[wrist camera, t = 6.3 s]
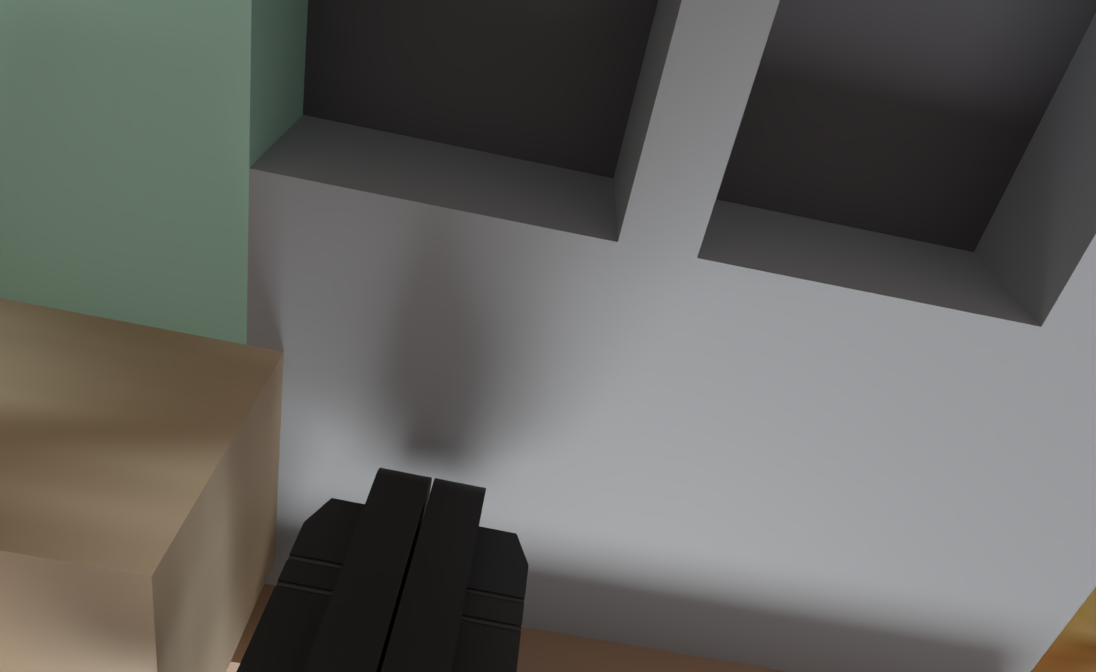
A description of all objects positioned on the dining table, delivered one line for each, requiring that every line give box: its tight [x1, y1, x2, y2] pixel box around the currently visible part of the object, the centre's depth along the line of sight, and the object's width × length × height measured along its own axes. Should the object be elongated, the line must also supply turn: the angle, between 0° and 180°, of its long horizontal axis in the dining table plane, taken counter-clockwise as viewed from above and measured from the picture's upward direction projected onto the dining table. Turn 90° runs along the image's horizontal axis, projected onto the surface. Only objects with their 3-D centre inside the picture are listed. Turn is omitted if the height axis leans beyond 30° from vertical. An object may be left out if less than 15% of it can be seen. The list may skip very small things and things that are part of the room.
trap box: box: [0, 0, 1096, 672], centre depth 11 cm, size 18×14×4 cm
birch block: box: [0, 298, 284, 672], centre depth 11 cm, size 4×4×4 cm
